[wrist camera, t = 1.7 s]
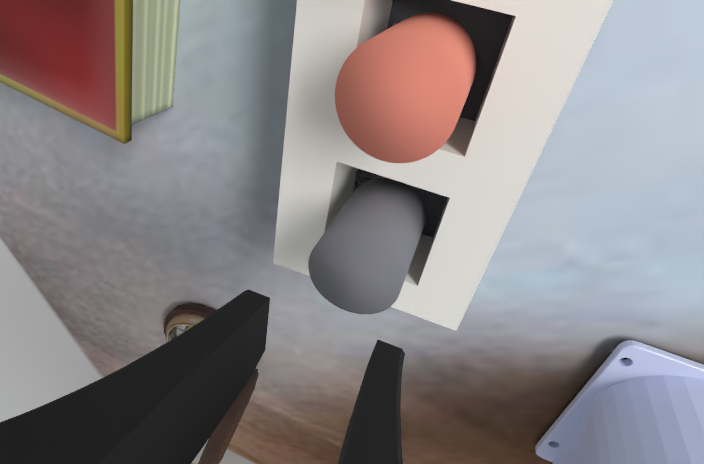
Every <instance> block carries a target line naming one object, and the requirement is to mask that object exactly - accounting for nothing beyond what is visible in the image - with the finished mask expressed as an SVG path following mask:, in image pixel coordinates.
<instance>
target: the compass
mask: <svg viewBox="0 0 704 464" xmlns="http://www.w3.org/2000/svg"><path fill="white" fill-rule="evenodd" d="M214 312H215V310H213V309H211V308H208V307H205V306H202V305H196V304H184V305H179V306H177V307H176V308H175V309H173V310H172V311H171V312H170V313H169V314H168V315H167V316H166V318H165V319H164V321H163V322H164V333H165V336H166V339H167V342H169V341H170V340H172V339H174V338H175V337H177V336H178V335H180V334H182V333H183V332H185V331H186V330H188V329H189V328H191V327H193V326H194V325H196V324H197V323H199V322H200V321H202V320H203V319H205V318H206V317H208V316H209V315H211V314H212V313H214ZM257 371H258V369H255V370H254V371H253V373H252V375H251V377H250V379H249V380H248V382H247V384H246V386H245V387H244V389H243V390H242V391H241V393H240V394H239V396H238V397H237V399H236V400H235V402H234V403H233V404H232V406H231V407H230V409H229V410H228V412H227V413H226V415H225V416H224V417H223V419H222V420H221V422H220V423H219V424H218V426H217V427H216V429H215V430H214V432H213V433H212V434H211V436H210V438H209V440H208V442H207V444H206V447H205V449H204V451H203V453H202V456H201V458H200V461H199V463H198V464H219V463H220V461H221V460H222V458H223V455H224V453H225V451H226V449H227V447H228V445H229V443H230V441H231V439H232V436H233V434H234V432H235V430H236V428H237V426H238V423H239V421H240V419H241V417H242V415H243V413H244V410H245V408H246V406H247V404H248V402H249V399H250V397H251V395H252V393H253V391H254V388H255V385H256V381H257V378H258V374H259V373H258V372H257ZM191 464H195V463H191Z"/></svg>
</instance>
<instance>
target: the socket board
mask: <svg viewBox="0 0 704 464" xmlns="http://www.w3.org/2000/svg"><path fill="white" fill-rule="evenodd" d="M452 1H456V2H460V3H465V4H469V5H473V6H477V7H481V8H485V9H489V10H493V11H497V12H501V13H505V14H509V15H513V18H512V21H511V23H510V26H509V29H508V32H507V34H506V37H505V40H504V43H503V45H502V48H501V51H500V54H499V57H498V59H497V62H496V65H495V68H494V70H493V73H492V76H491V79H490V82H489V84H488V87H487V90H486V93H485V95H484V98H483V101H482V104H481V106H480V109H479V112H478V115H477V118H476V120H475V121H472V120H468V119H465V118H462V117H459V119H458V122H457V124H456V126H455V129H454V131H453V132H452V134H451V136H450V137H449V139H448V140H447V141H446V143H445V144H444V145H443V146H442V147H441V148H440V149H438V150H437V151H436V152H434V153H433V154H431V155H430V156H428V157H426V158H424V159H421V160H419V161H415V162H410V163H389V162H385V161H381V160H379V159H376V158H374V157H372V156H370V155H368V154H366V153H365V152H363V151H362V150H361V149H359V148H358V147H357V146H356V145H355V144H354V143H353V142H352V141H351V140H350V138H349V137H348V136H347V134H346V133H345V131H344V129H343V127H342V126H341V123H340V121H339V118H338V115H337V111H336V105H335V86H336V82H337V77H338V75H339V72H340V69H341V67H342V66H343V64H344V62H345V60H346V59H347V58H348V56H349V55H350V54H351V53H352V52H353V51H354V50H355V49H356V48H357V47H358V46H360V45H361V44H362V43H364V42H366V41H367V40H369V39H371V38H373V37H374V36H376V35H378V34H380V33H381V32H383V31H385V30H387V27H388V22H389V17H390V13H391V8H392V3H393V0H297V6H296V17H295V28H294V39H293V49H292V60H291V71H290V82H289V93H288V104H287V115H286V125H285V136H284V147H283V158H282V169H281V180H280V191H279V201H278V212H277V223H276V234H275V245H274V256H273V263H275V264H277V265H280V266H283V267H285V268H288V269H291V270H293V271H296V272H299V273H301V274H304V275H307V276H310V274H309V269H308V261H309V256H310V254H311V251H312V250H313V248H314V247H315V245H316V244H317V243H318V241H319V240H320V238H321V237H322V235H323V234H324V233H325V231H326V230H327V228H328V227H329V226H330V224H331V223H332V221H333V220H334V219H335V217H336V216H337V214H338V213H339V212H340V210H341V209H342V207H343V206H344V205H345V203H346V202H347V200H348V199H349V198H350V196H351V195H352V193H353V190H354V185H355V180H356V176H357V171H358V169H362V170H365V171H368V172H371V173H374V174H377V175H380V176H383V177H386V178H390V179H393V180H396V181H399V182H402V183H405V184H408V185H411V186H414V187H418V188H421V189H424V190H427V191H430V192H433V193H436V194H439V195H442V196H446V197H448V198H447V201H446V204H445V206H444V209H443V212H442V215H441V217H440V220H439V223H438V226H437V228H436V231H435V234H434V237H433V238H432V237H429V236H426V235H423V234H421V237H420V239H419V242H418V245H417V248H416V250H415V253H414V256H413V259H412V261H411V264H410V267H409V270H408V272H407V275H406V278H405V281H404V283H403V286H402V289H401V291H400V294H399V296H398V298H397V300H396V301H395V303H394V304H393V305H392V306H390V307H393V308H396V309H398V310H401V311H404V312H407V313H409V314H412V315H415V316H417V317H420V318H423V319H425V320H428V321H431V322H433V323H436V324H439V325H442V326H444V327H447V328H450V329H452V330H455V331H457V328H458V326H459V324H460V322H461V320H462V318H463V316H464V314H465V312H466V309H467V307H468V305H469V303H470V301H471V299H472V297H473V295H474V293H475V291H476V288H477V286H478V284H479V282H480V280H481V278H482V276H483V274H484V272H485V270H486V267H487V265H488V263H489V261H490V259H491V257H492V255H493V253H494V251H495V248H496V246H497V244H498V242H499V240H500V238H501V236H502V234H503V232H504V230H505V227H506V225H507V223H508V221H509V219H510V217H511V215H512V213H513V211H514V209H515V206H516V204H517V202H518V200H519V198H520V196H521V194H522V192H523V190H524V187H525V185H526V183H527V181H528V179H529V177H530V175H531V173H532V171H533V169H534V166H535V164H536V162H537V160H538V158H539V156H540V154H541V152H542V150H543V148H544V145H545V143H546V141H547V139H548V137H549V135H550V133H551V131H552V129H553V126H554V124H555V122H556V120H557V118H558V116H559V114H560V112H561V110H562V108H563V105H564V103H565V101H566V99H567V97H568V95H569V93H570V91H571V89H572V86H573V84H574V82H575V80H576V78H577V76H578V74H579V72H580V70H581V68H582V65H583V63H584V61H585V59H586V57H587V55H588V53H589V51H590V49H591V47H592V44H593V42H594V40H595V38H596V36H597V34H598V32H599V30H600V28H601V25H602V23H603V21H604V19H605V17H606V15H607V13H608V11H609V9H610V7H611V4H612V2H613V0H452Z"/></svg>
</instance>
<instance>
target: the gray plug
mask: <svg viewBox="0 0 704 464" xmlns="http://www.w3.org/2000/svg"><path fill="white" fill-rule="evenodd" d="M425 220H426V213H425V208H424V205H423V203H422V201H421V199H420V198H419V196H418V195H417V194H416V192H415V191H414V190H412V189H411V188H410V187H409V186H407V185H406V184H404V183H402V182H399V181H396V180H393V179H390V178H374V179H370V180H367V181H365V182H363V183H362V184H360V185H359V186H358V187H357V188H356V189H355V191H354V192H353V193H352V195H351V196H350V198H349V199H348V200H347V202H346V203H345V205H344V206H343V207H342V209H341V210H340V212H339V213H338V214H337V216H336V217H335V219H334V220H333V221H332V223H331V224H330V226H329V227H328V228H327V230H326V231H325V233H324V234H323V235H322V237H321V238H320V240H319V241H318V243H317V244H316V245H315V247H314V248H313V250H312V251H311V254H310V256H309V261H308V269H309V274H310V277H311V280H312V282H313V284H314V285H315V287H316V288H317V290H318V291H319V292H320V293H321V294H322V295H323V296H324V297H325V298H326V299H327V300H328V301H329V302H331V303H332V304H334V305H335V306H337V307H339V308H341V309H344V310H346V311H349V312H353V313H358V314H374V313H378V312H381V311H384V310H386V309H388V308H389V307H390V306H392V305H393V304H394V303H395V301H396V300H397V298H398V296H399V294H400V291H401V289H402V286H403V283H404V281H405V278H406V275H407V272H408V270H409V267H410V264H411V261H412V259H413V256H414V253H415V250H416V248H417V245H418V242H419V239H420V237H421V234H422V231H423V228H424V225H425Z"/></svg>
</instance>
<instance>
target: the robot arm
mask: <svg viewBox="0 0 704 464" xmlns="http://www.w3.org/2000/svg"><path fill="white" fill-rule="evenodd" d="M269 302H270V298H269V297H266V296H264V295H261V294H258V293H256V292H253V291H251V290H246V291H244V292H243V293H241V294H240V295H238V296H237V297H236V298H234V299H233V300H231V301H230V302H228V303H227V304H226V305H224V306H223V307H221V308H220V309H218V310H217V311H215V312H214V313H212V314H211V315H209V316H208V317H206V318H205V319H203V320H202V321H200V322H199V323H197V324H196V325H194V326H193V327H191V328H189V329H188V330H186V331H185V332H183V333H182V334H180V335H178V336H177V337H175V338H174V339H172V340H170V341H169V342H167V343H165V344H164V345H162V346H160V347H159V348H157V349H155V350H153V351H152V352H150V353H148V354H146V355H145V356H143V357H141V358H139V359H138V360H136V361H134V362H132V363H130V364H129V365H127V366H125V367H123V368H121V369H119V370H117V371H115V372H114V373H112V374H110V375H108V376H106V377H104V378H102V379H100V380H98V381H96V382H94V383H91V384H89V385H88V386H85V387H83V388H81V389H79V390H77V391H75V392H72V393H70V394H68V395H65V396H63V397H61V398H59V399H57V400H54V401H52V402H50V403H48V404H45V405H43V406H41V407H39V408H36V409H33V410H31V411H29V412H26V413H24V414H21V415H19V416H16V417H13V418H11V419H8V420H5V421H3V422H0V464H191V463H192V461H193V460H194V459H195V457H196V455H197V454H198V453H199V451H200V450H201V448H202V447H203V446H204V444H205V443H206V442H207V440H208V439H209V437H210V436H211V434H212V433H213V432H214V430H215V429H216V427H217V426H218V424H219V423H220V422H221V420H222V419H223V417H224V416H225V415H226V413H227V412H228V410H229V409H230V407H231V406H232V404H233V403H234V402H235V400H236V399H237V397H238V396H239V394H240V393H241V391H242V390H243V389H244V387H245V386H246V384H247V382H248V380H249V379H250V377H251V375H252V373H253V371H254V370H255V368H256V366H257V364H258V362H259V360H260V358H261V357H262V355H263V353H264V351H265V345H266V334H267V324H268V313H269ZM404 356H405V353H404V352H403V350H402V349H401V348H398V347H396V346H393V345H390V344H388V343H385V342H383V341H380V340H377V343H376V345H375V348H374V350H373V353H372V355H371V358H370V360H369V363H368V366H367V369H366V372H365V375H364V378H363V381H362V385H361V388H360V391H359V394H358V397H357V400H356V403H355V407H354V410H353V413H352V416H351V419H350V422H349V425H348V429H347V432H346V436H345V440H344V443H343V447H342V451H341V454H340V458H339V462H338V464H403V462H402V447H401V422H400V396H401V376H402V367H403V360H404ZM621 358H629V359H626V360H623V359H621ZM535 452H536V454H537V455H538V456H539V457H541V458H543V459H545V460H548V461H550V462H553V464H704V365H703V364H700V363H697V362H694V361H692V360H689V359H686V358H683V357H680V356H677V355H674V354H672V353H669V352H666V351H663V350H660V349H657V348H654V347H652V346H649V345H646V344H643V343H640V342H637V341H633V340H628V341H624V342H621V343H620V344H619V345H618V346H617V347H616V348H615V350H614V351H613V352H612V353H611V354H610V356H609V357H608V358H607V359H606V361H605V362H604V363H603V364H602V365H601V367H600V368H599V369H598V370H597V371H596V373H595V374H594V375H593V376H592V377H591V379H590V380H589V381H588V382H587V384H586V385H585V386H584V387H583V388H582V390H581V391H580V392H579V393H578V394H577V396H576V397H575V398H574V399H573V400H572V402H571V403H570V404H569V405H568V407H567V408H566V409H565V410H564V411H563V413H562V414H561V415H560V416H559V417H558V419H557V420H556V421H555V422H554V423H553V425H552V426H551V427H550V428H549V430H548V431H547V432H546V433H545V434H544V436H543V437H542V438H541V439H540V440H539V442H538V443H537V444H536V446H535Z"/></svg>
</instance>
